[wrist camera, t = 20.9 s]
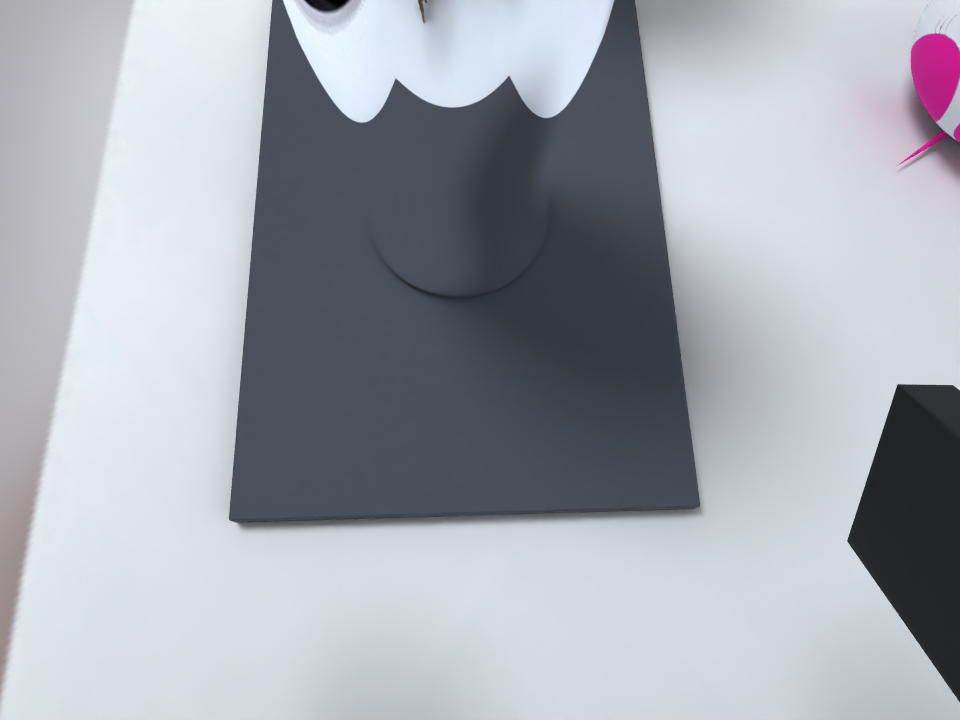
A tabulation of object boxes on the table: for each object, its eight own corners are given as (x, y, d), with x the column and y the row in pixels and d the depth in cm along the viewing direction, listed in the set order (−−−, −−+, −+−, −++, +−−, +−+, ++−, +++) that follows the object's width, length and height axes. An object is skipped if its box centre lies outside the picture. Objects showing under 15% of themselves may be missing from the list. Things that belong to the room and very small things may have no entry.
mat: (694, 509, 21) (700, 506, 21) (234, 522, 21) (228, 520, 21) (630, -1, 28) (633, -14, 27) (276, 4, 28) (272, -8, 27)
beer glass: (542, 121, 25) (632, -494, 11) (578, 297, 23) (745, -189, 9) (349, 143, 25) (183, -464, 11) (366, 324, 23) (185, -138, 8)
